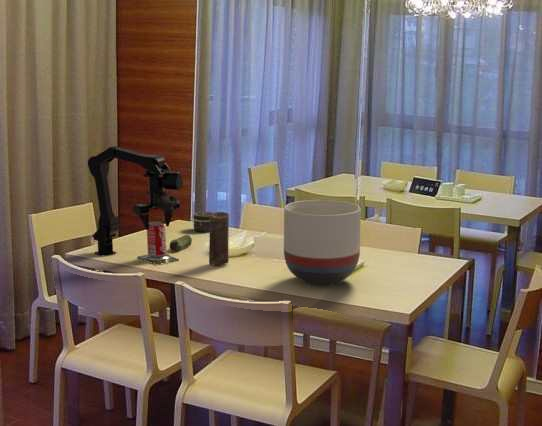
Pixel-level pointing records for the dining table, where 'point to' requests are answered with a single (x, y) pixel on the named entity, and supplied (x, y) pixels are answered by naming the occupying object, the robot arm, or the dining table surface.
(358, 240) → the planter
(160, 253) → the soda can
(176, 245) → the vegetable
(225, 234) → the candle
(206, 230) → the jar
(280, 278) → the dining table surface
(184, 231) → the dining table surface
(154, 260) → the pawl stand
